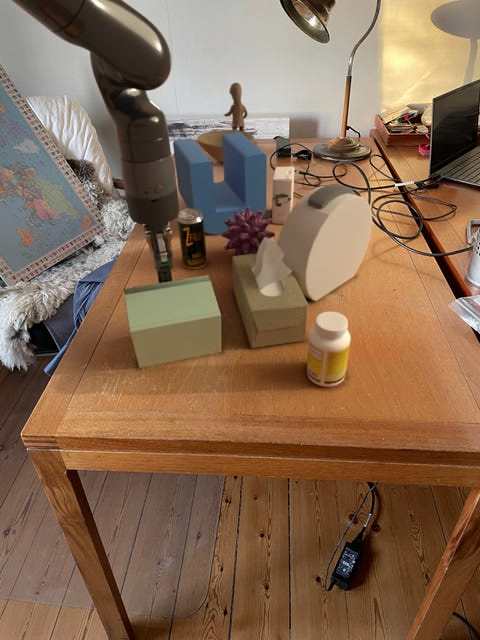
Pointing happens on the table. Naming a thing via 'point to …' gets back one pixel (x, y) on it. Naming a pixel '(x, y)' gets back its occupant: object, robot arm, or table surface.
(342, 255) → the alarm clock
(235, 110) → the figurine
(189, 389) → the table surface
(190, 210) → the beer can
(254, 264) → the tissue box
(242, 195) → the block
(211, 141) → the bowl
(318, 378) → the pill bottle
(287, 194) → the ink box
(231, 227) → the flower
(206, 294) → the pale green open box
